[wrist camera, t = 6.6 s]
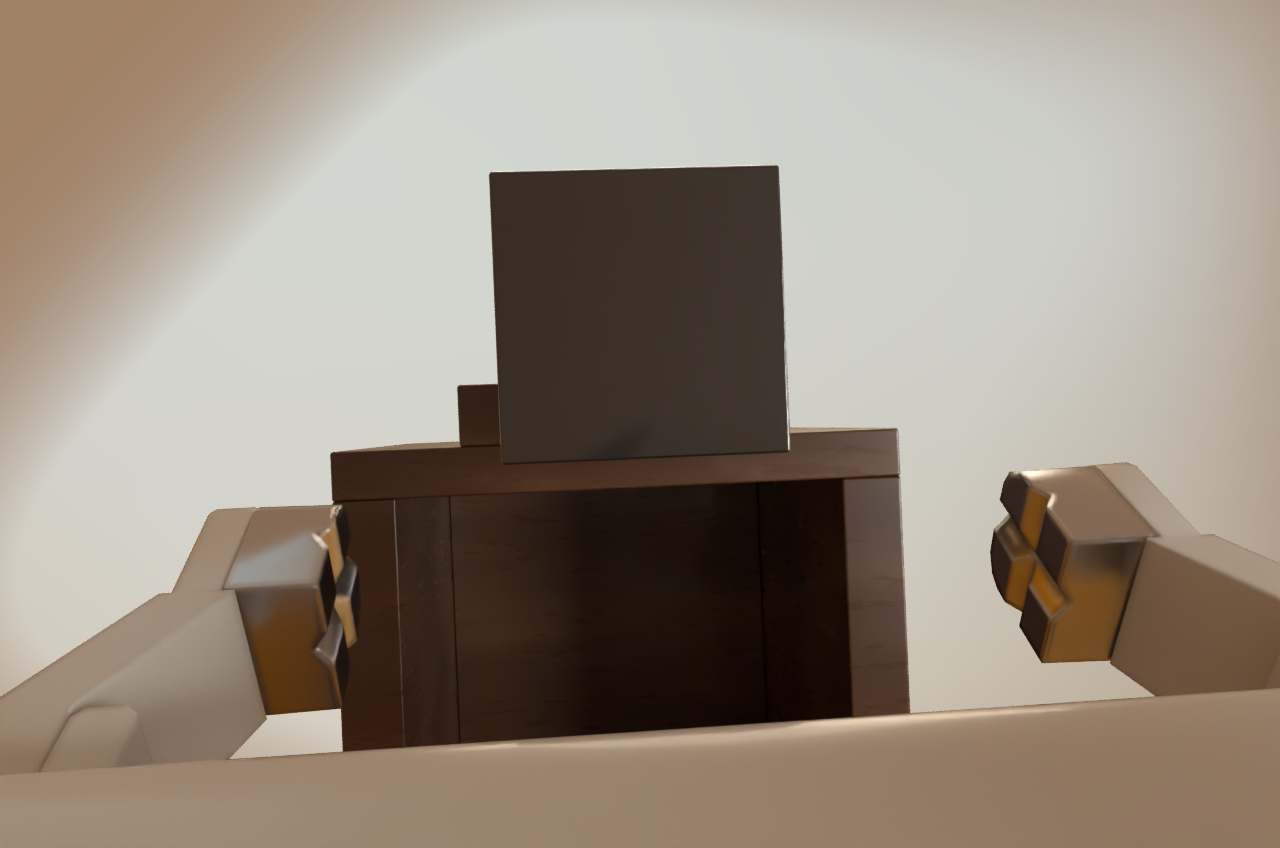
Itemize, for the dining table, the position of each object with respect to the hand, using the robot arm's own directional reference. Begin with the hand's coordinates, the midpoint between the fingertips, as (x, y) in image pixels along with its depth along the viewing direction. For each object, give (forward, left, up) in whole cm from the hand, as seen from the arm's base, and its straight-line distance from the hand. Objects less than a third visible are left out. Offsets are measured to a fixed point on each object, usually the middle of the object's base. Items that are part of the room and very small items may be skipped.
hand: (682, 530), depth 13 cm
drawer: (-7, -12, +1) cm, 14 cm away
